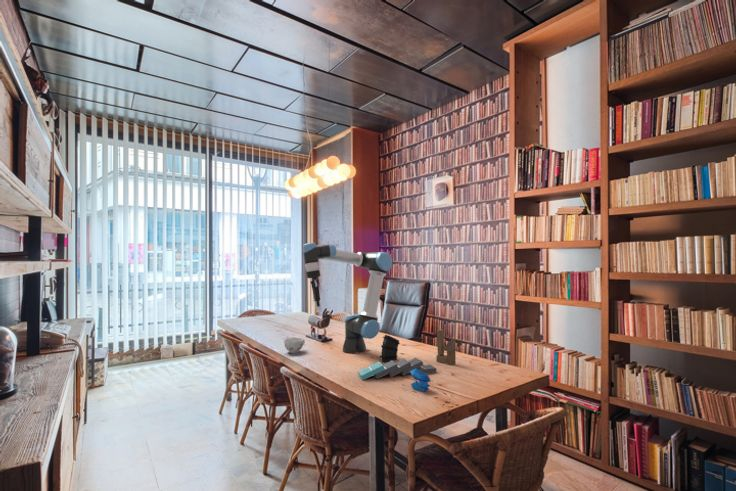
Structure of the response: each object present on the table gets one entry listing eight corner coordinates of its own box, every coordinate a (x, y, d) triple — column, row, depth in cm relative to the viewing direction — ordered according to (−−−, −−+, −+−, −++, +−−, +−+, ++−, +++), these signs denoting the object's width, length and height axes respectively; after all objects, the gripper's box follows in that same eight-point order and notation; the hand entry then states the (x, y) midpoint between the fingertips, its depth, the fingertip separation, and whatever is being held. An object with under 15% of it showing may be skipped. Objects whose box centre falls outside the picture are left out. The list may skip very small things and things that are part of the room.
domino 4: (414, 370, 186) (436, 368, 189) (409, 366, 193) (430, 364, 196) (415, 375, 186) (436, 372, 189) (409, 371, 193) (430, 369, 196)
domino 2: (389, 372, 182) (409, 361, 186) (384, 369, 189) (403, 358, 193) (391, 377, 182) (411, 366, 186) (385, 373, 189) (405, 362, 193)
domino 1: (375, 374, 180) (396, 363, 184) (371, 370, 187) (391, 360, 190) (377, 379, 180) (398, 368, 184) (373, 374, 187) (393, 364, 190)
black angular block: (376, 360, 207) (383, 334, 212) (390, 366, 216) (397, 340, 221) (381, 361, 205) (388, 335, 210) (395, 367, 213) (402, 341, 218)
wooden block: (452, 365, 202) (451, 332, 202) (436, 361, 210) (435, 329, 210) (456, 364, 204) (455, 331, 205) (440, 360, 212) (439, 329, 213)
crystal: (429, 379, 159) (405, 368, 166) (425, 397, 160) (402, 386, 167) (436, 374, 165) (413, 364, 172) (432, 392, 166) (409, 381, 173)
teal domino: (361, 375, 179) (383, 365, 182) (357, 371, 185) (379, 361, 188) (362, 380, 179) (384, 369, 182) (359, 375, 186) (380, 365, 189)
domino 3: (402, 371, 184) (421, 360, 189) (396, 367, 191) (415, 357, 195) (403, 375, 185) (423, 365, 189) (397, 372, 191) (416, 362, 195)
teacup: (291, 355, 225) (291, 342, 225) (279, 352, 233) (279, 339, 234) (310, 351, 236) (310, 338, 237) (298, 348, 245) (298, 335, 245)
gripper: (305, 271, 211) (311, 312, 211) (307, 271, 199) (313, 314, 198) (317, 269, 213) (323, 309, 213) (321, 269, 201) (327, 312, 200)
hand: (318, 312), depth 205 cm, fingers closed
